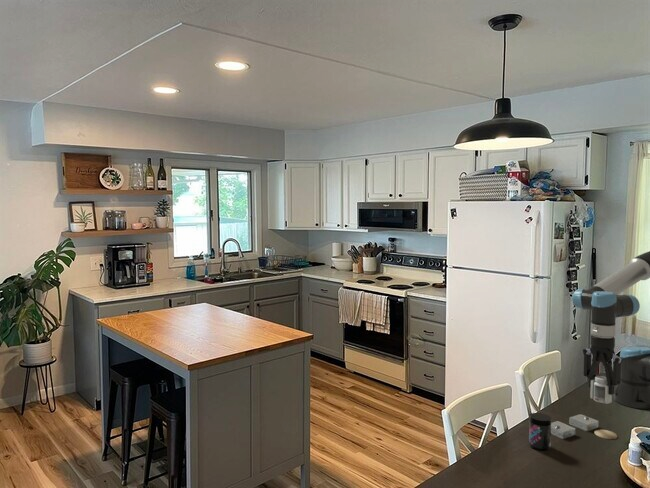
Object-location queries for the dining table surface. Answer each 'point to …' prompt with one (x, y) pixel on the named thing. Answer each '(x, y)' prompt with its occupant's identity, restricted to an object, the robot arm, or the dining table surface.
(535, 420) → the supplement container
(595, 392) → the pill bottle
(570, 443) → the dining table surface
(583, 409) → the dining table surface
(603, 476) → the dining table surface
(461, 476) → the dining table surface
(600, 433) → the cork coaster
